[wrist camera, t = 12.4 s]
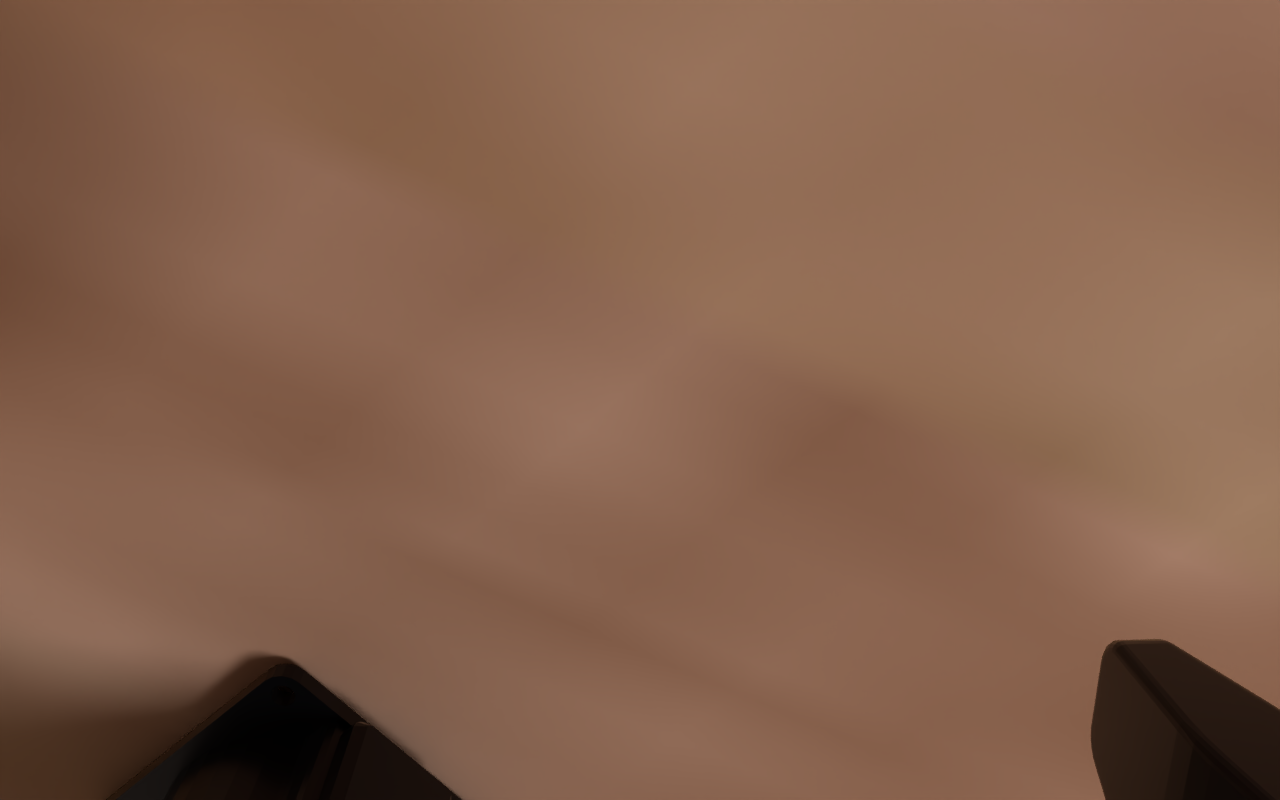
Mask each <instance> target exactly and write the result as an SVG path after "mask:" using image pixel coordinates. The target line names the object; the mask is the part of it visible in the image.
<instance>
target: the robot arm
mask: <svg viewBox="0 0 1280 800" xmlns="http://www.w3.org/2000/svg"><path fill="white" fill-rule="evenodd" d="M277 686H286V687H288V688H290V689H292V691H293V692H294V693H285V692H283V691H281V690H279V688H278V687H277ZM1091 746H1092V753H1093V758H1094V762H1095V766H1096V769H1097V773H1098V776H1099V779H1100V783H1101V786H1102V789H1103V792H1104V796H1105V799H1106V800H1280V709H1278V708H1277V707H1275V706H1274V705H1272V704H1270V703H1269V702H1267V701H1265V700H1264V699H1262V698H1260V697H1259V696H1257V695H1256V694H1254V693H1252V692H1251V691H1249V690H1247V689H1246V688H1244V687H1242V686H1241V685H1239V684H1238V683H1236V682H1234V681H1233V680H1231V679H1229V678H1228V677H1226V676H1224V675H1223V674H1221V673H1220V672H1218V671H1216V670H1215V669H1213V668H1211V667H1210V666H1208V665H1207V664H1205V663H1203V662H1202V661H1200V660H1198V659H1197V658H1195V657H1193V656H1192V655H1190V654H1189V653H1187V652H1185V651H1184V650H1182V649H1180V648H1179V647H1177V646H1175V645H1174V644H1172V643H1170V642H1168V641H1165V640H1161V639H1145V640H1116V641H1113V642H1112V643H1111V644H1109V645H1108V646H1107V647H1106V649H1105V651H1104V653H1103V656H1102V660H1101V667H1100V673H1099V680H1098V686H1097V693H1096V699H1095V706H1094V712H1093V719H1092V725H1091ZM106 800H461V799H460V798H458V797H457V796H456V795H455V794H453V793H452V792H451V791H450V790H449V789H448V788H447V787H446V786H444V785H443V784H442V783H441V782H440V781H438V780H437V779H436V778H435V777H434V776H432V775H431V774H430V773H429V772H427V771H426V770H425V769H424V768H423V767H421V766H420V765H419V764H418V763H417V762H415V761H414V760H413V759H412V758H411V757H409V756H408V755H407V754H406V753H404V752H403V751H402V750H401V749H400V748H398V747H397V746H396V745H395V744H394V743H392V742H391V741H390V740H389V739H387V738H386V737H385V736H384V735H383V734H381V733H380V732H379V731H378V730H377V729H375V728H374V727H373V726H371V725H370V724H369V723H367V722H366V721H365V720H364V719H363V718H361V717H360V716H359V715H358V714H356V713H355V712H354V711H353V710H352V709H350V708H349V707H348V706H347V705H346V704H344V703H343V702H342V701H341V700H340V699H338V698H337V697H336V696H335V695H333V694H332V693H331V692H330V691H329V690H327V689H326V688H325V687H324V686H323V685H321V684H320V683H319V682H318V681H316V680H315V679H314V678H313V677H312V676H310V675H309V674H308V673H307V672H306V671H304V670H303V669H301V668H299V667H297V666H294V665H290V664H281V665H276V666H274V667H272V668H270V669H269V670H268V671H267V672H265V673H264V674H263V675H262V676H260V677H259V678H258V679H257V680H255V681H254V682H253V683H252V684H250V685H249V686H248V687H247V688H245V689H244V690H243V691H242V692H240V693H239V694H238V695H237V696H235V697H234V698H233V699H232V700H230V701H229V702H228V703H227V704H225V705H224V706H223V707H222V708H220V709H219V710H218V711H217V712H215V713H214V714H213V715H212V716H210V717H209V718H208V719H207V720H205V721H204V722H203V723H202V724H200V725H199V726H198V727H197V728H195V729H194V730H193V731H191V732H190V733H189V734H188V735H186V736H185V737H184V738H183V739H181V740H180V741H179V742H178V743H176V744H175V745H174V746H173V747H171V748H170V749H169V750H168V751H166V752H165V753H164V754H163V755H161V756H160V757H159V758H158V759H156V760H155V761H154V762H153V763H151V764H150V765H149V766H148V767H146V768H145V769H144V770H143V771H141V772H140V773H139V774H138V775H136V776H135V777H134V778H133V779H131V780H130V781H129V782H128V783H126V784H125V785H124V786H123V787H121V788H120V789H119V790H118V791H116V792H115V793H114V794H113V795H111V796H110V797H109V798H108V799H106Z"/></svg>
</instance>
